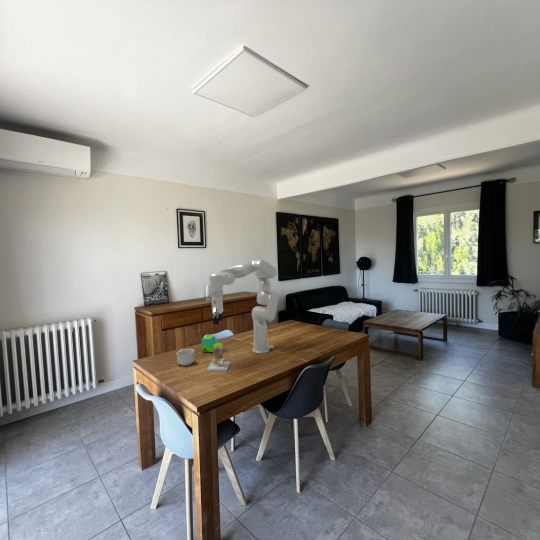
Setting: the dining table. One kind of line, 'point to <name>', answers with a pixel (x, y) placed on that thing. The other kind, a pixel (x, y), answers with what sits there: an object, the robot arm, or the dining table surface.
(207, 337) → the toy car
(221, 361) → the block base
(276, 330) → the dining table surface
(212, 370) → the plate
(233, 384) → the dining table surface
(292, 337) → the dining table surface
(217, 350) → the block top
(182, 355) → the teacup
